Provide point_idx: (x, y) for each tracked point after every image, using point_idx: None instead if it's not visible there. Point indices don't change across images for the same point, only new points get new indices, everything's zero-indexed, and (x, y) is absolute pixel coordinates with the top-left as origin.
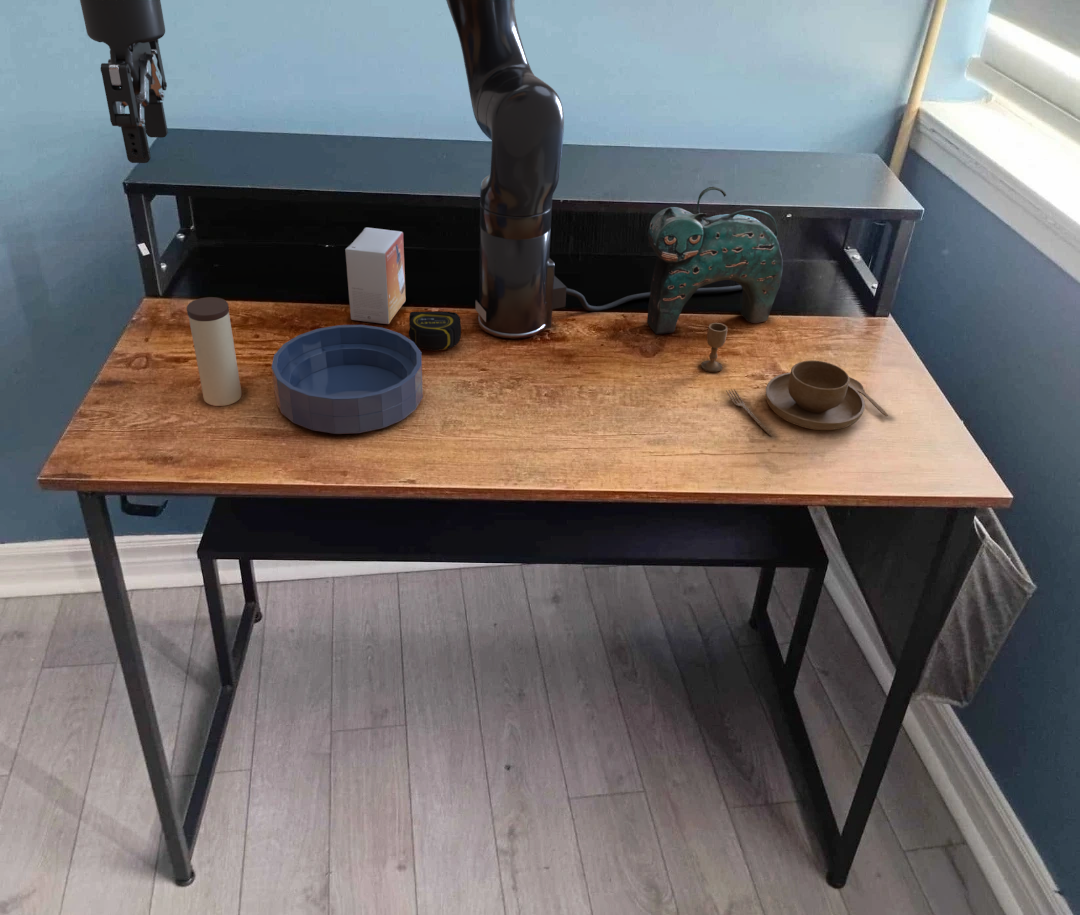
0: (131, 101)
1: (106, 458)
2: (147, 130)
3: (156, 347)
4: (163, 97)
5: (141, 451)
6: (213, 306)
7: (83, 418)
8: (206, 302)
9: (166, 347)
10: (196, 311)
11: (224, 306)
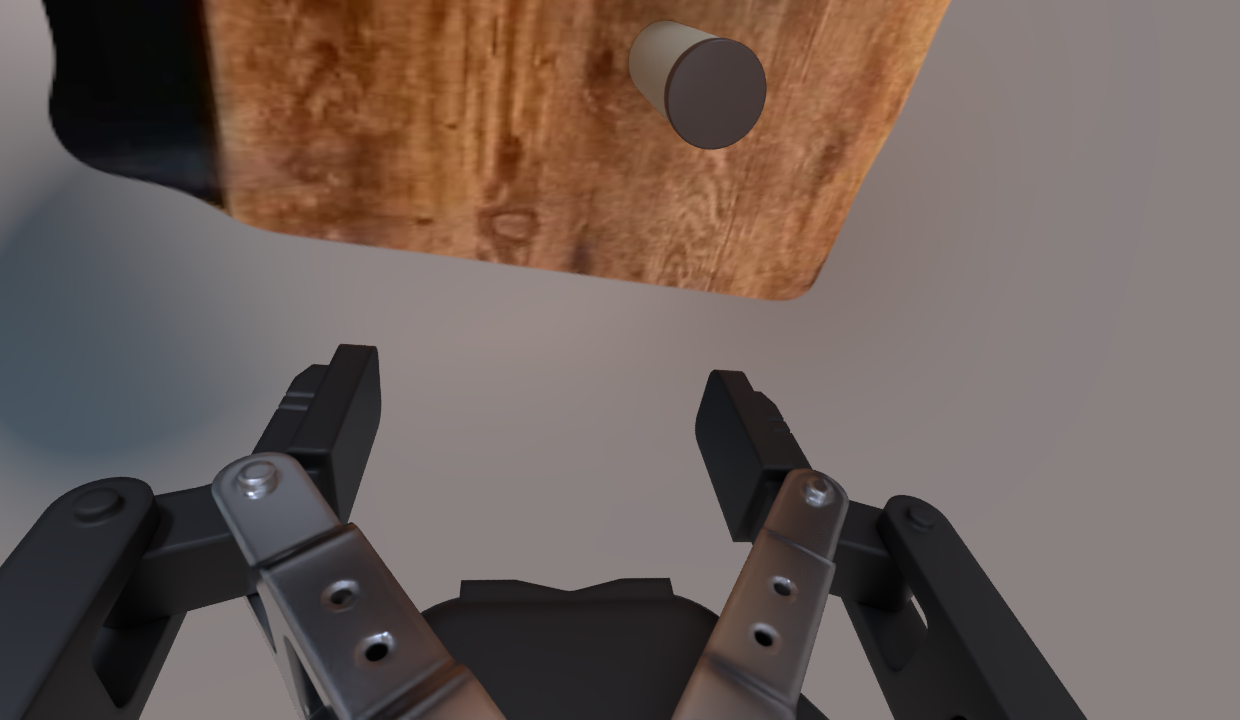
0: (1012, 619)
1: (794, 241)
2: (376, 429)
3: (455, 201)
4: (247, 463)
5: (794, 195)
6: (726, 80)
7: (678, 286)
8: (696, 100)
9: (456, 183)
10: (740, 124)
11: (731, 49)
